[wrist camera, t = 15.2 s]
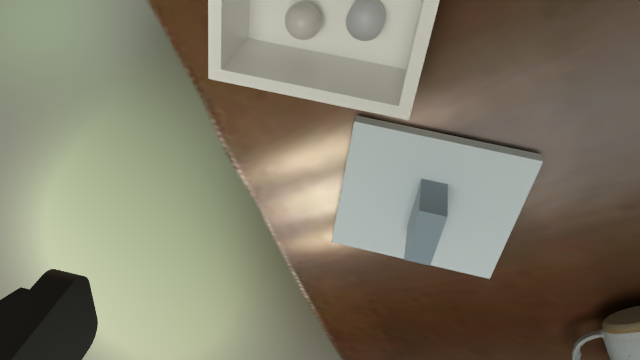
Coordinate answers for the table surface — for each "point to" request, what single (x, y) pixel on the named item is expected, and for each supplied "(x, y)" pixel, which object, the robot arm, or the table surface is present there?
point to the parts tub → (324, 49)
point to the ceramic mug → (617, 335)
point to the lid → (431, 196)
